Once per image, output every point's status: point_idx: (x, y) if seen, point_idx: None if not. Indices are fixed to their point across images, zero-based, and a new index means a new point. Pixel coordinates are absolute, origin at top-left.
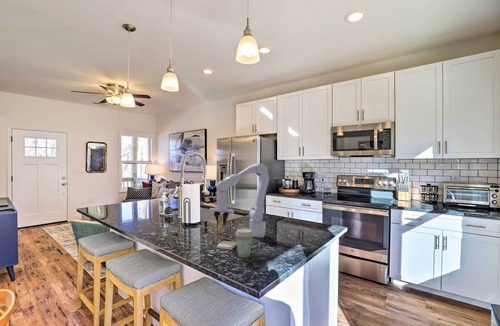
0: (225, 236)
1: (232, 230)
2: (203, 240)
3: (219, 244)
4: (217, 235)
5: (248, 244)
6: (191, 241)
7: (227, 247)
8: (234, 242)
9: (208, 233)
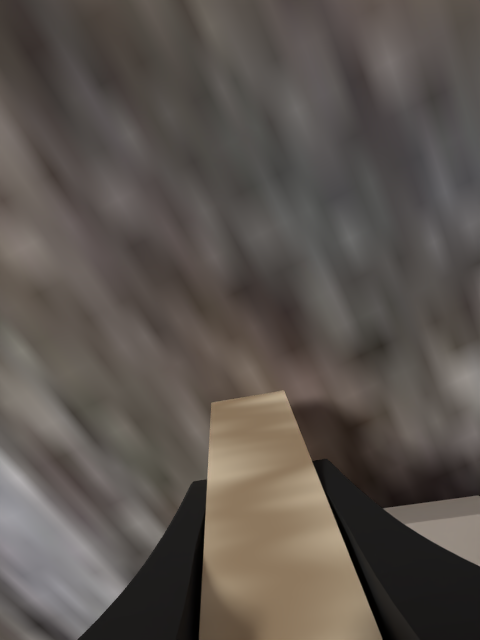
0: (267, 330)
1: (229, 30)
2: (124, 537)
3: None
4: (160, 338)
5: None
6: (39, 604)
7: None
8: (476, 527)
9: (10, 318)
